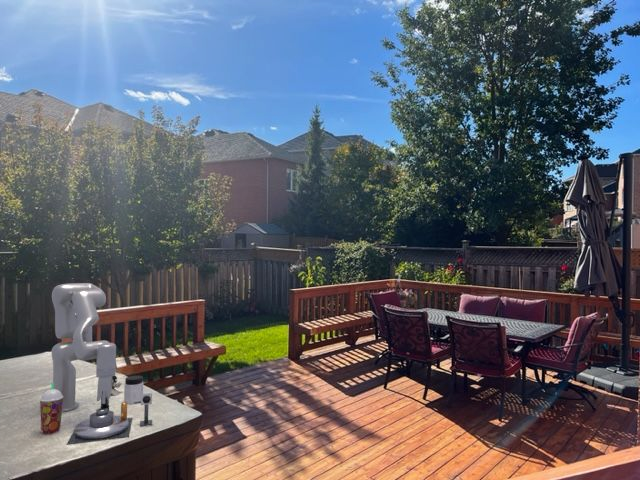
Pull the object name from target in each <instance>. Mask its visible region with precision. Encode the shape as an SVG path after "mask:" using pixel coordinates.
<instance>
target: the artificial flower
mask: <svg viewBox="0 0 640 480" xmlns="http://www.w3.org/2000/svg"><path fill="white" fill-rule="evenodd" d="M122 385H123V383H122V382H120V381H119V382H118V377H117V376H116V375H115V376H112V392H111V395H113V396H115V397H116V396H119V394H120V392H119V390H117V389H118V388H120V387H121V386H122Z"/></svg>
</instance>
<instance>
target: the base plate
mask: <svg viewBox="0 0 640 480" xmlns="http://www.w3.org/2000/svg"><path fill="white" fill-rule="evenodd" d="M127 419H128V428H127V429H126V430H124V431H123V432H121V433H118V434H116V435H113V436H109V437H104V438H97V439H84V438H79V437H77V436H76V435H75V428H74V430H73V431H72V433H71V435H70V437H69V439H68V441H67V443H66V445H75V444H83V443H84V444H85V443H91V442H99V441H108V440H107V439H109V440H115V439H116V438H117V439H124V438H130V433H131V428H132V424H133V423H132V422H133V417H127ZM78 424H79V423H77V424H76V426H77V425H78ZM76 426H75V427H76Z"/></svg>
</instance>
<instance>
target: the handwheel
mask: <svg viewBox="0 0 640 480" xmlns="http://www.w3.org/2000/svg"><path fill="white" fill-rule="evenodd" d="M127 418H128V404H127V402H124V401H123V402H121V405H120V415H114V421H113V424H112V425H110V426H107V427H103V428H91V427H90V426H89V424H90V418H89V419H86V420H83V421H81V422H79V423H77V424H78V425H77V424H76V425H77V426H75V427H74V429H75V435H76V436H77V437H79V438H84V439H97V438H104V437H109V436H113V435H116V434H118V433H121V432H123V431H124V430H126V429H127V428H128V419H127Z"/></svg>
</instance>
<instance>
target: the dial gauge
mask: <svg viewBox="0 0 640 480" xmlns="http://www.w3.org/2000/svg"><path fill="white" fill-rule="evenodd" d="M136 404H140V405H141V406H144V409H143V411H144V413H143V414H144V416H143V420H140V422H139V427H148V426H147V425H149V426H153V419H149V405H153V393H152V392H149V393H143V394H141V401H139V402H134V404H133V405H136Z"/></svg>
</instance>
